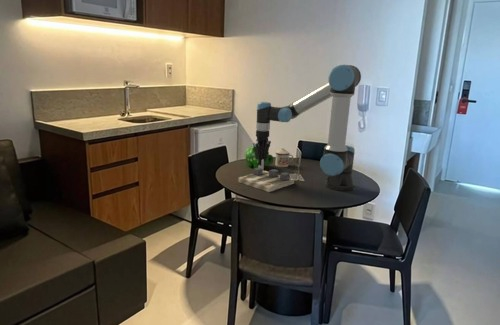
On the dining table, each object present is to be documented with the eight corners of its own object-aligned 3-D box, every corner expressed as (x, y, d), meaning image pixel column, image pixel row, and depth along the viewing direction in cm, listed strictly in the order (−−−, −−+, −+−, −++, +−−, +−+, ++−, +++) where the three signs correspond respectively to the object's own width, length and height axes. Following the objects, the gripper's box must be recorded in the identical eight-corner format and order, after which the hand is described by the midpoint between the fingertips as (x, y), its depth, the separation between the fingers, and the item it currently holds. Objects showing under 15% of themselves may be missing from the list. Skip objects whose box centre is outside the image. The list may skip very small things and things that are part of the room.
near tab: (289, 179, 204) (289, 173, 203) (284, 180, 201) (285, 175, 200) (284, 177, 206) (284, 172, 205) (279, 179, 203) (280, 173, 202)
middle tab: (278, 175, 209) (278, 170, 208) (273, 177, 206) (273, 171, 205) (273, 174, 211) (273, 169, 210) (268, 175, 208) (269, 170, 207)
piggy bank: (258, 172, 225) (259, 148, 221) (240, 165, 238) (240, 142, 235) (275, 168, 234) (276, 145, 230) (256, 162, 247) (257, 140, 243)
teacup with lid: (277, 167, 236) (278, 150, 233) (273, 164, 245) (274, 146, 242) (295, 167, 239) (296, 149, 236) (290, 163, 248) (291, 146, 245)
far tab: (262, 174, 211) (262, 168, 210) (257, 175, 208) (257, 170, 207) (257, 172, 213) (257, 167, 212) (253, 174, 210) (253, 168, 209)
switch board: (294, 183, 206) (294, 178, 205) (268, 192, 190) (269, 186, 189) (264, 174, 220) (264, 170, 219) (238, 182, 204) (238, 177, 203)
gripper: (265, 127, 213) (263, 167, 219) (250, 130, 204) (248, 171, 210) (275, 129, 208) (273, 169, 214) (260, 132, 199) (258, 174, 205)
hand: (260, 170), depth 212 cm, fingers closed
